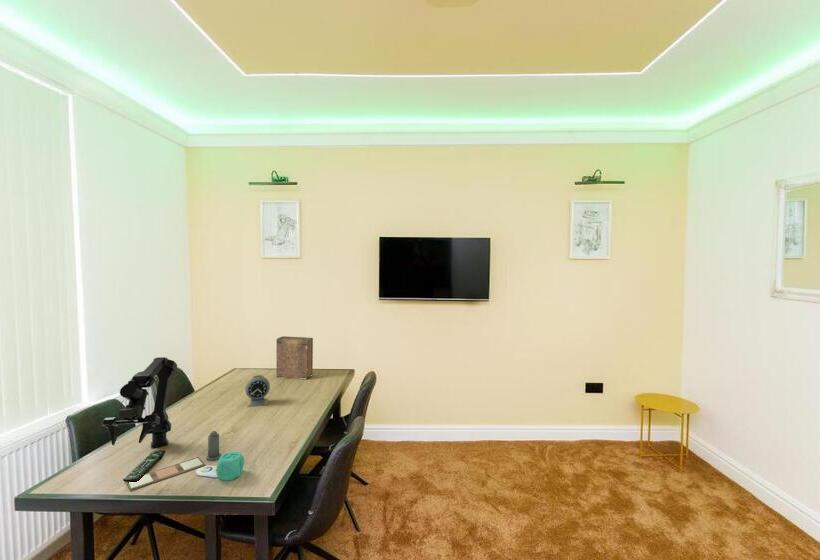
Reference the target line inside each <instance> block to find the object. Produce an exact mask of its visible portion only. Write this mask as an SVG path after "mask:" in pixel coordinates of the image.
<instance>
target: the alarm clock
mask: <svg viewBox="0 0 820 560" xmlns="http://www.w3.org/2000/svg"><path fill="white" fill-rule="evenodd" d="M270 389H271V385H270V381H269V379H268V378H267V377H265V376H264V375H263V374H255V375H253V376H252V377H251V378H250V379H248V380H247V381H246V383H245V386H244V391H245V394H246V396H247V397H248V398H250V399H249V400H246V408H252V407H253V408H254V407H260V406H269V405H270V403H269V399H268V398H265V397H266V396H267V395H268V394H269V392H270Z"/></svg>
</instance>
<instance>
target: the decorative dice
mask: <svg viewBox="0 0 820 560" xmlns="http://www.w3.org/2000/svg"><path fill="white" fill-rule="evenodd" d="M244 464H245V458H244V456H243V454H242V453H241V452H239V451H229V452H225V453H224V454H221V457H220V458H219V459H218V461H217V464H216V476H217V477H218V478H219V479H220V480H222V481H225V482H227V481H232V480H235V479H237V478H239V477H240V476H241V475H242V473H243V469H244V466H245V465H244Z"/></svg>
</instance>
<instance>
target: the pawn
mask: <svg viewBox="0 0 820 560" xmlns="http://www.w3.org/2000/svg"><path fill="white" fill-rule="evenodd" d="M207 445H208V446H207V455H206V461H208V462H213V461H217V460H219V458H220V457H221V456H222V454H221V452H220V433H218V432H217V431H216V430H213V431H211V432H210V434H209V435H208V436H207Z"/></svg>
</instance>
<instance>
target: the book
mask: <svg viewBox="0 0 820 560" xmlns="http://www.w3.org/2000/svg"><path fill="white" fill-rule="evenodd" d="M313 349H314V338H313V337H305V336H303V337H302V336H285V335H284V336H283V335H282V336H280V337H278V338H276V378H278V377H287V378H286V379H291V378H306V379H308V380H309V378H310V377H312V376H313V373H314V372H313V370H314V369H313V367H314V366H313V365H314V364H313V363H314V362H313V361H314V360H313V358H314V353H313V352H314V350H313ZM311 375H312V376H311ZM308 377H309V378H308Z"/></svg>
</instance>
